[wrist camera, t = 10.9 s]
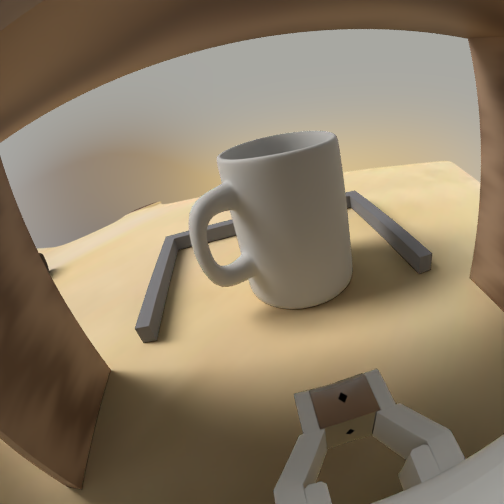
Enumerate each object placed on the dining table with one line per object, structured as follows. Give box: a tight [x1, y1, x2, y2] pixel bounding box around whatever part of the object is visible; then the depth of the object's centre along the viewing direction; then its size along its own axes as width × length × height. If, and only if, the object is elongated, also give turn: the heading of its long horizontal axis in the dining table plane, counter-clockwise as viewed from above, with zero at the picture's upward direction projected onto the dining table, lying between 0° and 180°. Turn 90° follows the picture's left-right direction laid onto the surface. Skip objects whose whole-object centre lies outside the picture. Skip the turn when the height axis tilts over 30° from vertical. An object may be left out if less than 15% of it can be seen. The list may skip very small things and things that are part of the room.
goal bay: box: [135, 191, 432, 343], centre depth 28 cm, size 16×23×2 cm
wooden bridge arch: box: [0, 0, 504, 489], centre depth 11 cm, size 10×30×18 cm, turn 95°
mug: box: [189, 131, 353, 309], centre depth 22 cm, size 12×8×11 cm
